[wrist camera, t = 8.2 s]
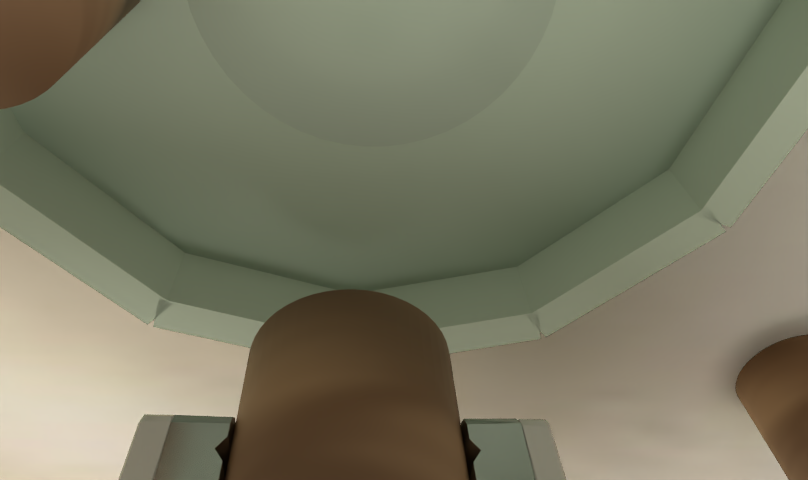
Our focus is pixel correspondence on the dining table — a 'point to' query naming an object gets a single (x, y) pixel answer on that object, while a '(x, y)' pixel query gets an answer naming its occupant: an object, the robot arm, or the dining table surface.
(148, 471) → the robot arm
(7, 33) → the seated bead
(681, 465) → the dining table surface
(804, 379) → the wooden cylinder
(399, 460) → the loose bead
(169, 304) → the tray
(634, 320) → the dining table surface
